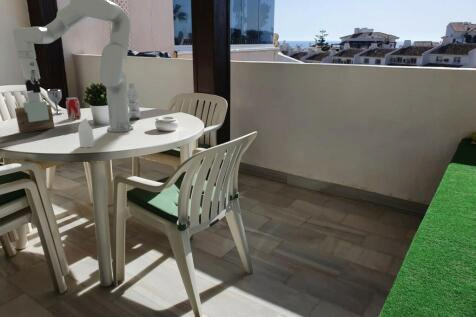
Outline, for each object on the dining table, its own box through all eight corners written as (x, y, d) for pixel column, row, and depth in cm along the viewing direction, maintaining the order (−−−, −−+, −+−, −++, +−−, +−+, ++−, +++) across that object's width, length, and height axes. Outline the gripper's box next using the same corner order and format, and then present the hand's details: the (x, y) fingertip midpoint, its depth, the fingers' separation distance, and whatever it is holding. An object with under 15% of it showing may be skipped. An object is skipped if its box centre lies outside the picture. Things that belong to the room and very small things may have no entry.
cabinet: (49, 119, 178) (44, 91, 174) (29, 122, 172) (24, 93, 167) (45, 117, 181) (41, 90, 177) (26, 120, 175) (21, 92, 171)
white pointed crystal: (73, 119, 147) (83, 116, 152) (77, 146, 151) (87, 143, 156) (83, 120, 145) (94, 118, 150) (87, 148, 149) (97, 145, 154)
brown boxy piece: (56, 128, 184) (53, 105, 180) (22, 133, 173) (17, 109, 169) (49, 125, 191) (45, 103, 187) (15, 130, 180) (11, 106, 176)
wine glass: (51, 113, 223) (47, 89, 218) (65, 112, 225) (62, 88, 221) (49, 115, 216) (45, 90, 211) (63, 115, 218) (60, 90, 213)
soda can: (76, 120, 204) (73, 99, 200) (65, 119, 205) (62, 98, 202) (83, 117, 211) (81, 97, 207) (73, 117, 212) (70, 97, 208)
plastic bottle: (136, 116, 213) (133, 83, 207) (143, 118, 209) (140, 83, 202) (126, 118, 208) (123, 84, 202) (133, 120, 204) (130, 84, 198)
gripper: (41, 55, 164) (48, 92, 169) (29, 54, 175) (36, 89, 181) (23, 55, 159) (31, 94, 164) (12, 55, 170) (19, 91, 175)
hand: (33, 91), depth 172 cm, fingers open, 9 cm apart
